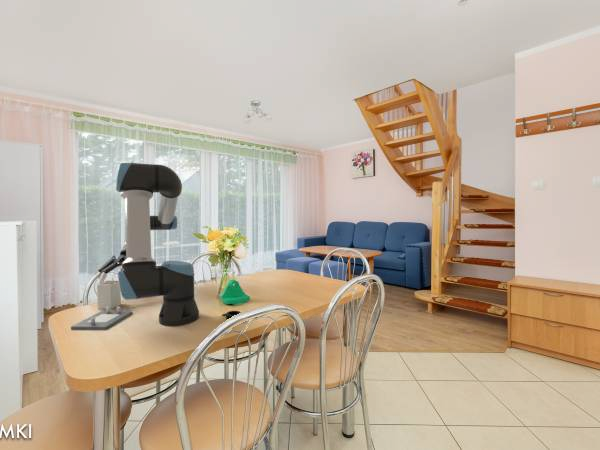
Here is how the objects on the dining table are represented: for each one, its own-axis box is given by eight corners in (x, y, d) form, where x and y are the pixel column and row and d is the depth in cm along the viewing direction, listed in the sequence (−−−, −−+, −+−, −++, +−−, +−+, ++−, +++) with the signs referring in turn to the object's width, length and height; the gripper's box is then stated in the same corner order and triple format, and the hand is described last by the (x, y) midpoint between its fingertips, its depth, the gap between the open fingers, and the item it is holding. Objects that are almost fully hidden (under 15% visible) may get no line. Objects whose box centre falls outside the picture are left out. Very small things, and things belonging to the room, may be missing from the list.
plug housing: (120, 304, 140) (120, 280, 139) (111, 309, 133) (110, 284, 132) (108, 304, 140) (107, 280, 139) (97, 309, 133) (96, 283, 132)
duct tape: (228, 326, 115) (228, 318, 115) (220, 318, 123) (220, 311, 123) (247, 322, 119) (247, 315, 119) (238, 314, 127) (238, 307, 127)
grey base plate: (132, 313, 127) (132, 305, 127) (105, 329, 111) (105, 320, 110) (102, 313, 128) (102, 305, 128) (71, 329, 111) (70, 319, 111)
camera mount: (226, 306, 137) (226, 284, 136) (220, 302, 143) (220, 281, 143) (250, 302, 144) (250, 280, 144) (243, 298, 150) (243, 277, 150)
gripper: (157, 253, 156) (142, 290, 142) (110, 253, 157) (91, 289, 143) (152, 244, 151) (136, 281, 136) (103, 244, 151) (82, 281, 137)
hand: (113, 285), depth 140 cm, fingers open, 13 cm apart
